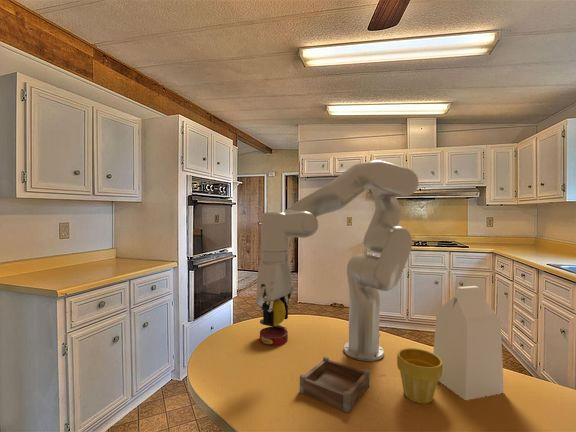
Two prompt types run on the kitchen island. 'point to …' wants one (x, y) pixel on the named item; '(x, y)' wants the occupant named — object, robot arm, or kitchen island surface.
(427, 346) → the kitchen island surface
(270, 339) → the canned food
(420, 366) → the plant pot
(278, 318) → the lemon
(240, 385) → the kitchen island surface
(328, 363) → the wooden square tray
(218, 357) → the kitchen island surface
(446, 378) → the milk
